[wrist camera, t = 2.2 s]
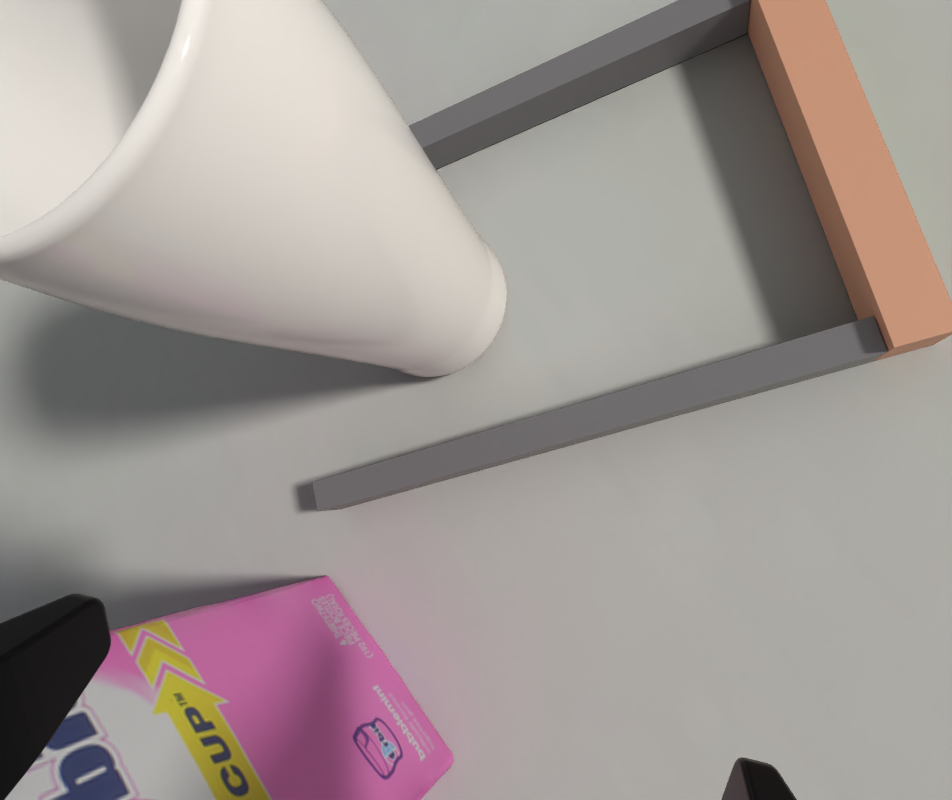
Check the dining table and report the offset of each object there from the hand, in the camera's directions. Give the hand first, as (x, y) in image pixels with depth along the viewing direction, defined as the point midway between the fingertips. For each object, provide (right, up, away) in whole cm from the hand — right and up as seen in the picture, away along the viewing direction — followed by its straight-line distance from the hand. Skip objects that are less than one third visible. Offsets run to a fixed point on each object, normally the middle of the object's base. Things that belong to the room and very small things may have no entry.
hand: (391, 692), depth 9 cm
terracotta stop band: (+12, +11, +10) cm, 19 cm away
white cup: (0, +7, +14) cm, 16 cm away
